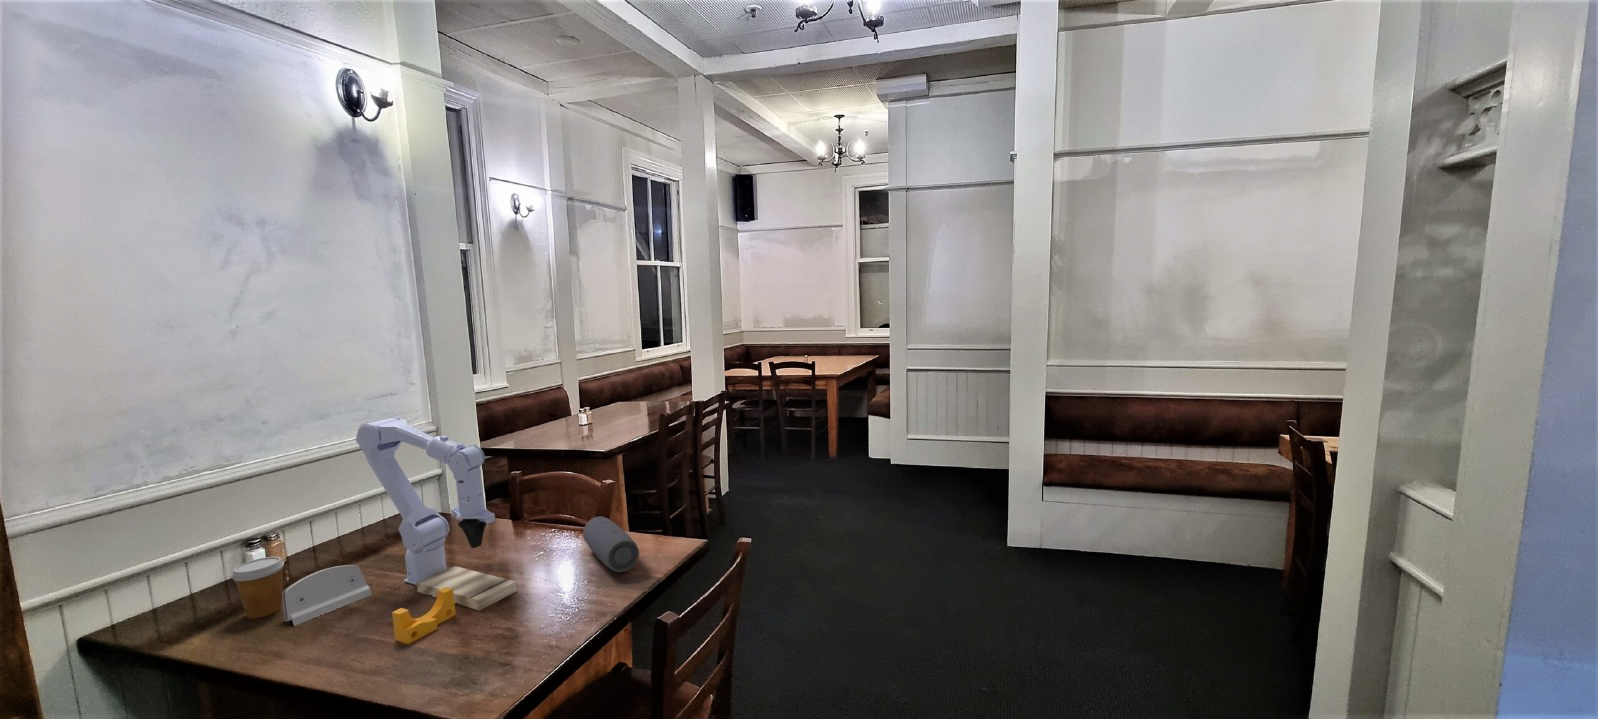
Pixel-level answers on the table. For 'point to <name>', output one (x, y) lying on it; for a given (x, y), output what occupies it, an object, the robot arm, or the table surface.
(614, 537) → the bluetooth speaker
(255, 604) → the disposable coffee cup
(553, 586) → the table surface
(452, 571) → the maple board
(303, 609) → the gray arched bracket
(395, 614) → the pipe clamp
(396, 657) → the table surface
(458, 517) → the robot arm
